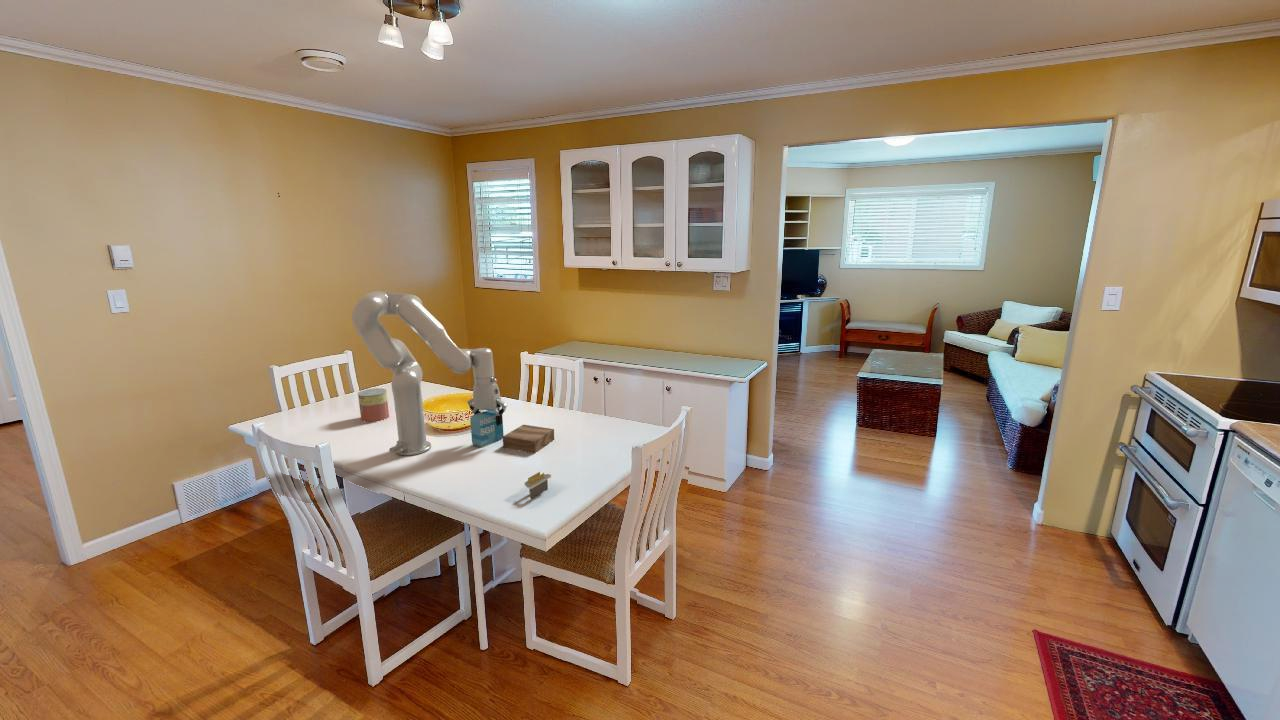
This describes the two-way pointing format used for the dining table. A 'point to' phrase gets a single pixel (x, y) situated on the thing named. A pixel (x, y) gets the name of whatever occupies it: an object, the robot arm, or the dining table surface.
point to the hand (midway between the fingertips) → (488, 423)
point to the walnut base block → (528, 438)
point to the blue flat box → (485, 428)
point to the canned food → (373, 405)
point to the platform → (537, 483)
